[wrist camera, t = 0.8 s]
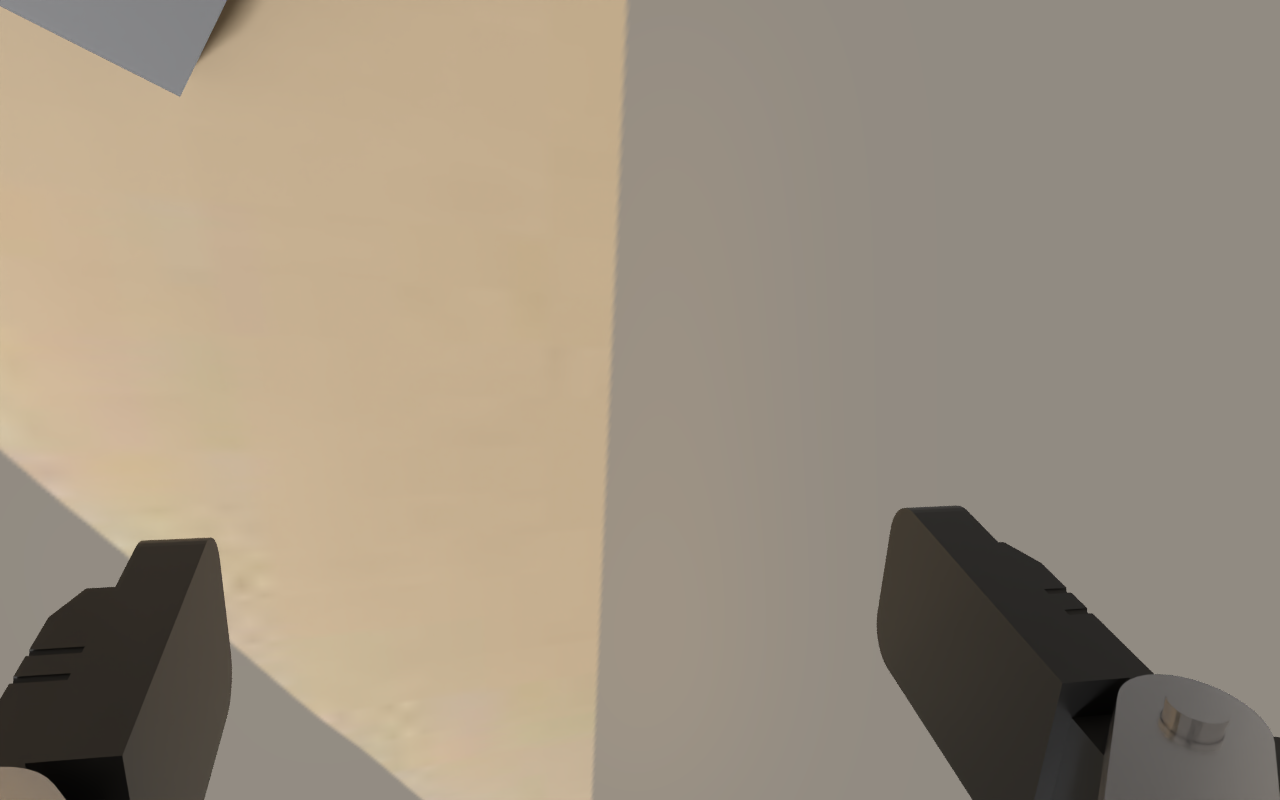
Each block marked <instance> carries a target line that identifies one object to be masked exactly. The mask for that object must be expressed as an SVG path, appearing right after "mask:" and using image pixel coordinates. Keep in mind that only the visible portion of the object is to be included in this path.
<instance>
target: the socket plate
mask: <svg viewBox="0 0 1280 800" xmlns="http://www.w3.org/2000/svg"><path fill="white" fill-rule="evenodd" d="M226 1H227V0H0V6H1V7H3V8H5V9H7V10H9V11H11V12H13V13H15V14H17V15H19V16H21V17H23V18H25V19H27V20H29V21H31V22H33V23H35V24H37V25H39V26H41V27H43V28H45V29H47V30H49V31H51V32H53V33H55V34H56V35H58V36H60V37H62V38H64V39H66V40H68V41H70V42H72V43H74V44H76V45H78V46H80V47H82V48H84V49H86V50H88V51H90V52H92V53H94V54H96V55H98V56H100V57H102V58H104V59H106V60H108V61H110V62H112V63H114V64H116V65H118V66H120V67H122V68H124V69H126V70H128V71H130V72H132V73H134V74H136V75H138V76H140V77H142V78H144V79H146V80H148V81H150V82H152V83H154V84H156V85H158V86H160V87H162V88H164V89H166V90H168V91H170V92H172V93H174V94H176V95H178V96H181V94H182V92H183V90H184V87H185V85H186V83H187V81H188V79H189V77H190V75H191V73H192V71H193V69H194V67H195V65H196V63H197V61H198V59H199V57H200V55H201V52H202V50H203V48H204V46H205V44H206V42H207V40H208V38H209V36H210V34H211V32H212V30H213V28H214V26H215V24H216V22H217V20H218V17H219V15H220V13H221V11H222V9H223V7H224V5H225V3H226Z"/></svg>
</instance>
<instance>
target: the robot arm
mask: <svg viewBox="0 0 1280 800" xmlns="http://www.w3.org/2000/svg"><path fill="white" fill-rule="evenodd" d="M877 635H878V642H879V647H880V651H881V654H882V657H883V660H884V662H885V664H886V666H887V668H888V670H889V671H890V673H891V674H892V676H893V677H894V679H895V680H896V682H897V684H898V685H899V687H900V688H901V690H902V691H903V693H904V694H905V695H906V697H907V699H908V701H909V702H910V704H911V705H912V707H913V708H914V710H915V711H916V713H917V714H918V716H919V718H920V719H921V721H922V722H923V724H924V725H925V727H926V728H927V730H928V731H929V733H930V735H931V736H932V738H933V739H934V741H935V742H936V744H937V746H938V747H939V749H940V750H941V751H942V753H943V755H944V756H945V758H946V759H947V761H948V763H949V764H950V766H951V767H952V769H953V770H954V772H955V773H956V775H957V776H958V778H959V780H960V781H961V783H962V784H963V786H964V787H965V789H966V790H967V792H968V793H969V795H970V797H971V798H972V800H1280V738H1279V737H1273V735H1272V732H1271V731H1270V729H1269V727H1268V726H1267V724H1266V723H1265V722H1264V720H1263V719H1262V718H1261V717H1260V716H1259V715H1258V714H1257V713H1256V712H1255V711H1253V710H1252V709H1251V708H1249V707H1248V706H1247V705H1246V704H1244V703H1243V702H1241V701H1240V700H1238V699H1237V698H1235V697H1233V696H1232V695H1230V694H1228V693H1226V692H1224V691H1222V690H1220V689H1218V688H1215V687H1212V686H1210V685H1208V684H1205V683H1202V682H1199V681H1196V680H1193V679H1189V678H1184V677H1180V676H1173V675H1163V674H1153V673H1152V672H1151V671H1150V670H1149V669H1148V668H1147V667H1146V666H1145V665H1144V664H1143V663H1142V662H1141V661H1140V660H1139V659H1138V658H1137V657H1136V656H1135V655H1134V654H1133V653H1132V652H1131V651H1130V650H1129V649H1128V648H1127V647H1126V646H1125V645H1124V644H1123V643H1122V642H1121V641H1120V640H1119V639H1118V638H1117V637H1116V636H1115V635H1114V634H1113V633H1112V632H1111V631H1110V630H1108V628H1107V627H1106V626H1105V625H1104V624H1102V622H1101V621H1100V620H1099V619H1097V618H1096V617H1095V616H1094V615H1093V614H1088V613H1087V608H1086V607H1085V606H1084V605H1083V604H1082V603H1081V602H1080V601H1079V600H1078V599H1077V598H1076V597H1075V596H1074V595H1073V594H1072V593H1067V592H1066V587H1065V586H1064V585H1063V584H1062V583H1061V582H1060V581H1059V580H1058V579H1057V578H1056V577H1055V576H1054V575H1053V574H1052V573H1051V572H1050V571H1049V570H1048V569H1047V568H1046V567H1045V566H1044V565H1042V563H1040V562H1038V561H1036V560H1034V559H1033V558H1031V557H1029V556H1028V555H1026V554H1024V553H1022V552H1020V551H1019V550H1017V549H1015V548H1013V547H1012V546H1010V545H1008V544H1006V543H1004V542H999V543H998V542H997V541H996V540H995V539H994V538H993V537H992V536H991V535H990V534H989V533H988V531H986V529H985V528H984V527H983V526H982V525H981V524H980V523H979V522H978V521H977V520H976V519H975V518H974V517H973V516H972V515H970V513H969V512H968V511H967V510H966V509H965V508H963V507H961V506H939V507H916V508H902V509H900V510H899V511H898V512H897V513H896V515H895V517H894V519H893V522H892V525H891V531H890V537H889V544H888V550H887V556H886V563H885V569H884V576H883V581H882V588H881V594H880V600H879V607H878V614H877ZM29 651H30V653H29V656H26V657H25V658H24V660H23V661H22V663H21V665H20V666H19V669H18V670H17V672H16V673H15V675H14V681H13V684H9V685H8V687H7V688H6V690H5V692H4V694H3V695H2V697H1V699H0V800H204V798H205V794H206V790H207V787H208V783H209V780H210V776H211V772H212V769H213V765H214V761H215V758H216V755H217V751H218V747H219V744H220V740H221V736H222V733H223V729H224V725H225V722H226V718H227V715H228V710H229V705H230V696H231V684H232V663H231V651H230V642H229V633H228V625H227V617H226V608H225V600H224V591H223V583H222V574H221V566H220V558H219V552H218V548H217V544H216V542H215V540H214V539H213V538H192V539H169V540H147V541H140V542H139V543H138V545H137V546H136V548H135V550H134V552H133V554H132V556H131V558H130V560H129V561H128V563H127V566H126V567H125V569H124V571H123V573H122V575H121V577H120V579H119V581H118V583H117V585H116V587H107V588H90V589H89V588H88V589H85V590H84V591H82V592H81V593H80V594H78V595H77V596H76V597H75V598H73V599H72V600H71V601H70V602H68V603H67V604H65V605H64V606H63V607H62V608H60V609H59V610H58V611H56V612H55V613H54V614H53V615H51V616H50V617H49V618H48V619H47V621H46V623H45V624H44V626H43V628H42V629H41V631H40V633H39V635H38V636H37V638H36V640H35V641H34V643H33V645H32V646H31V648H30V650H29Z"/></svg>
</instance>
